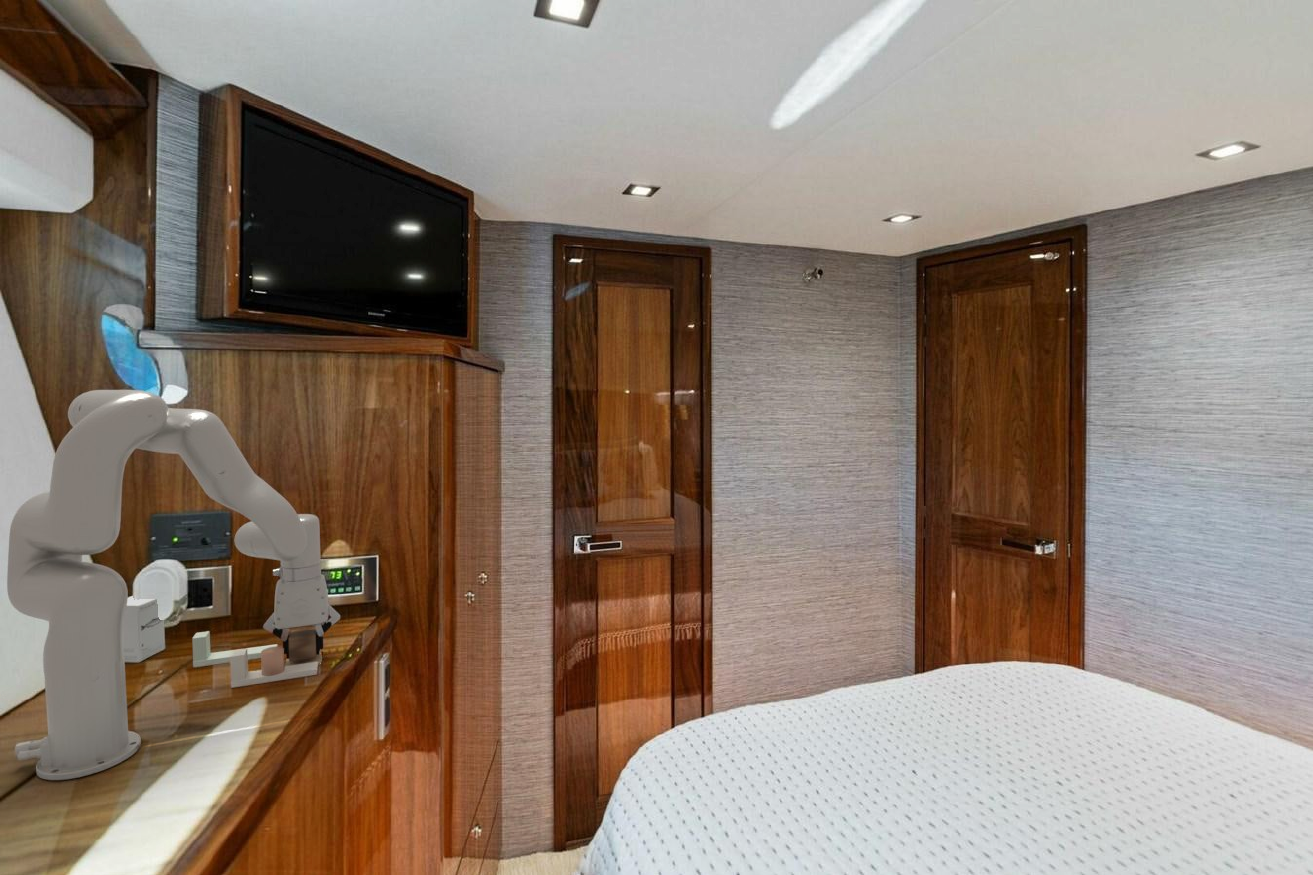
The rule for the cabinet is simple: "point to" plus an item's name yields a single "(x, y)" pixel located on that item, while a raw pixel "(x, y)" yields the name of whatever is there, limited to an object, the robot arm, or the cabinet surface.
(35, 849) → the cabinet surface
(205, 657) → the white l-shaped piece
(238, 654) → the strip
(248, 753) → the cabinet surface
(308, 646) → the block
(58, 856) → the cabinet surface
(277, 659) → the pink cylinder
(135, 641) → the supplement box
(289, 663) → the pad
